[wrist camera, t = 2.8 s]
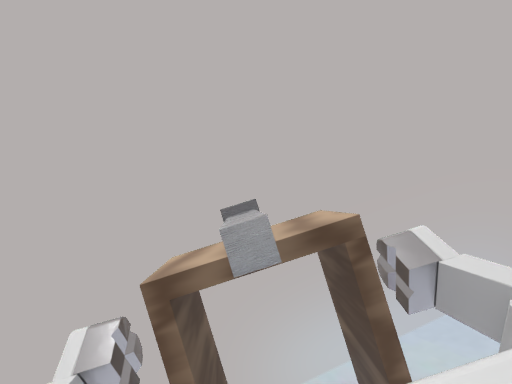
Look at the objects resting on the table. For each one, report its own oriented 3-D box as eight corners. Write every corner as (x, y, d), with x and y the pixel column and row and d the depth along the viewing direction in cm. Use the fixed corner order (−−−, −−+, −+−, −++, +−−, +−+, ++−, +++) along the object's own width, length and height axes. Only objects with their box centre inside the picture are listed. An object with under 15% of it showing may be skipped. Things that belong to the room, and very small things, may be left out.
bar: (263, 230, 40) (253, 199, 40) (289, 259, 20) (269, 196, 20) (231, 241, 40) (221, 209, 40) (225, 280, 20) (206, 216, 20)
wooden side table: (380, 401, 43) (320, 210, 44) (448, 497, 29) (359, 214, 30) (232, 455, 42) (171, 257, 42) (230, 581, 28) (139, 285, 28)
